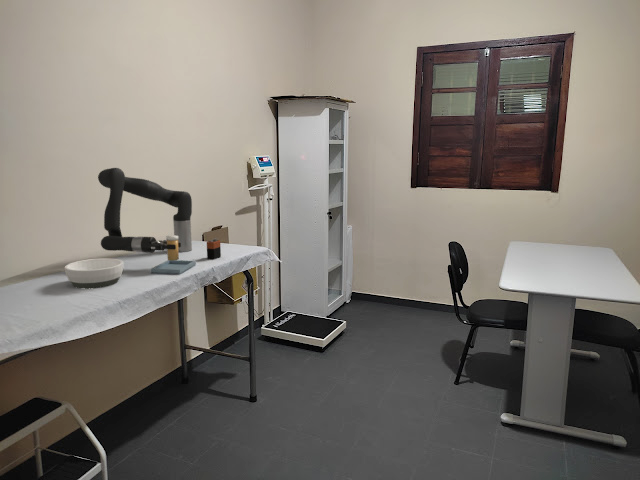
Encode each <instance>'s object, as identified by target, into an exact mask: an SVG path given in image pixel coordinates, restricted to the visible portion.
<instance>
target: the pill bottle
mask: <svg viewBox="0 0 640 480" xmlns="http://www.w3.org/2000/svg"><path fill="white" fill-rule="evenodd" d="M165 240H167V245H168V244H173V245H176V249H167V251H166V252H167V253H166V254H167V260H179V258H180V257H179V255H180V254H179V252H178V236H176V235H174V234H171V235H167V236H166V238H165Z"/></svg>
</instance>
